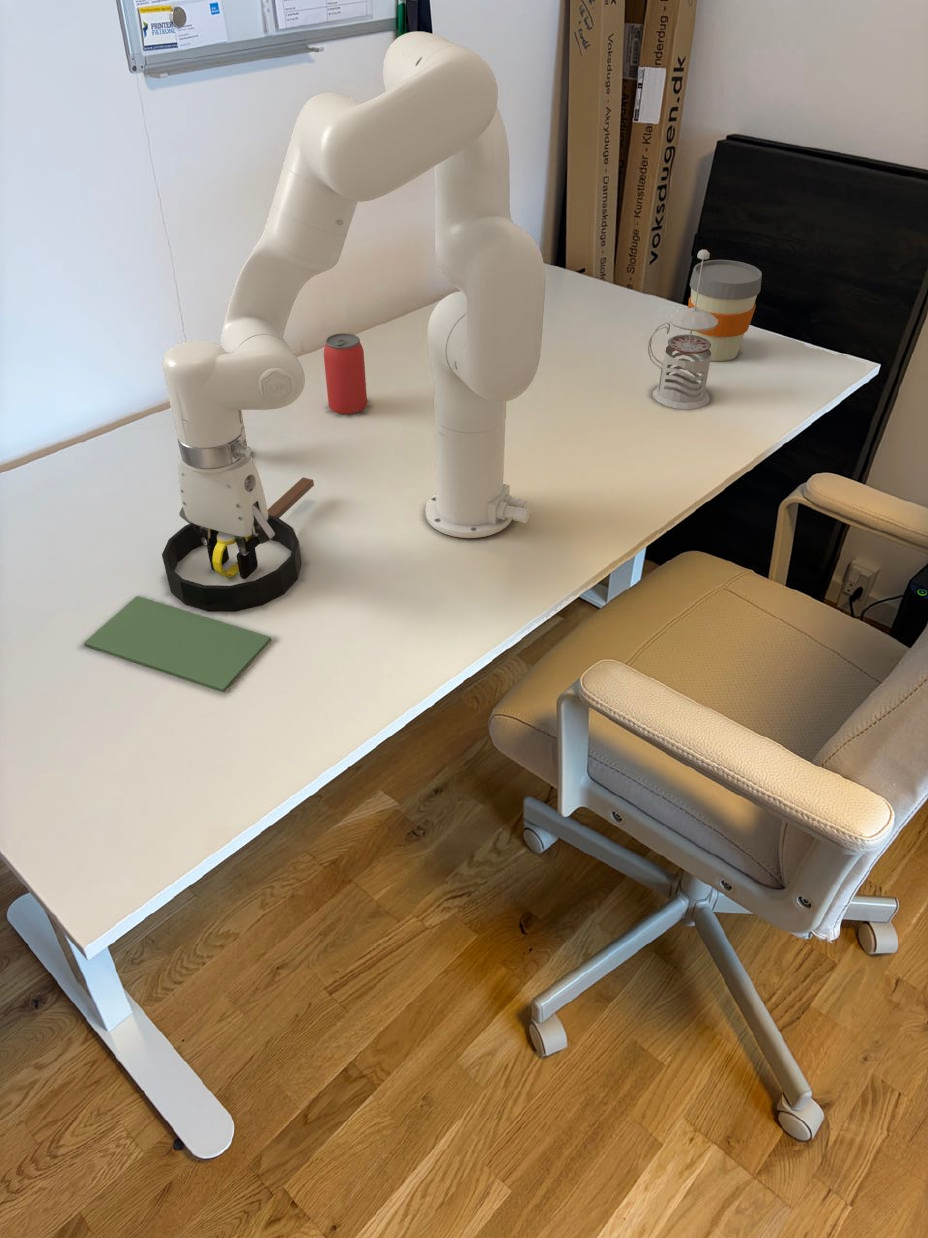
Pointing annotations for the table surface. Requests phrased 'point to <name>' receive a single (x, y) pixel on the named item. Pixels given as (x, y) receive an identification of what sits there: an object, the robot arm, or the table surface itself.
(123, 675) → the table surface
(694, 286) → the reusable coffee cup
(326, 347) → the beer can
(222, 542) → the watch
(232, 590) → the pan
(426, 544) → the table surface
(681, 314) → the french press
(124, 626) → the mat
